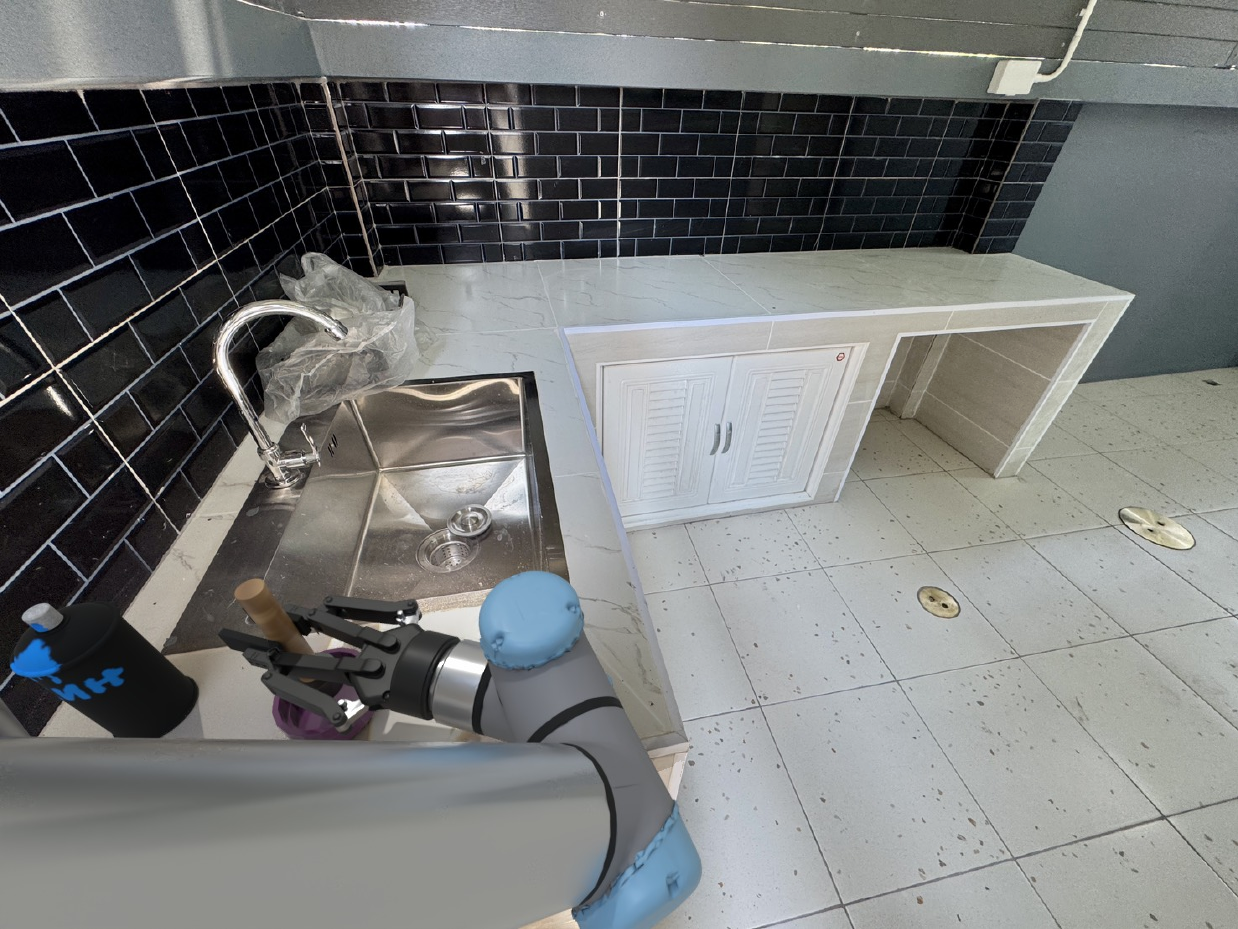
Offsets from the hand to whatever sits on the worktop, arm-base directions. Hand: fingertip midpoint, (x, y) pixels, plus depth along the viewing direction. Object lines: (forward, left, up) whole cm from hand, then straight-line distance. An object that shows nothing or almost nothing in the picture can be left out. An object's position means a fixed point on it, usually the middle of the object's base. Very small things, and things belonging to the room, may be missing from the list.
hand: (239, 625), depth 52 cm
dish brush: (+3, -5, -10) cm, 11 cm away
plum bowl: (+3, -5, -15) cm, 16 cm away
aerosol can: (-13, +9, -15) cm, 22 cm away
